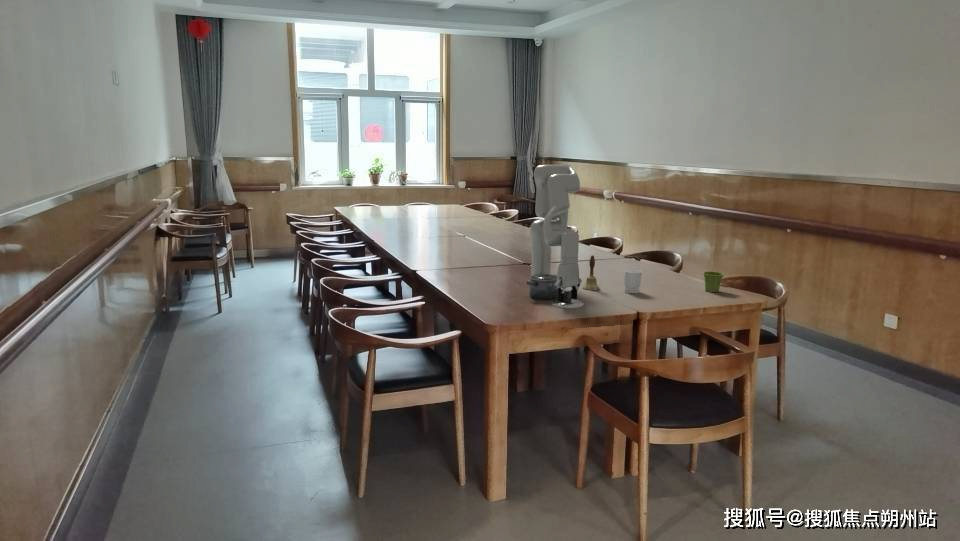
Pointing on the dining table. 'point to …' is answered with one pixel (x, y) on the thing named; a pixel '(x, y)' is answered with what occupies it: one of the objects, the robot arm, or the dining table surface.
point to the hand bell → (591, 277)
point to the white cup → (632, 281)
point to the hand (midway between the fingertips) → (567, 300)
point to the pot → (543, 286)
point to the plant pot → (712, 281)
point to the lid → (567, 301)
